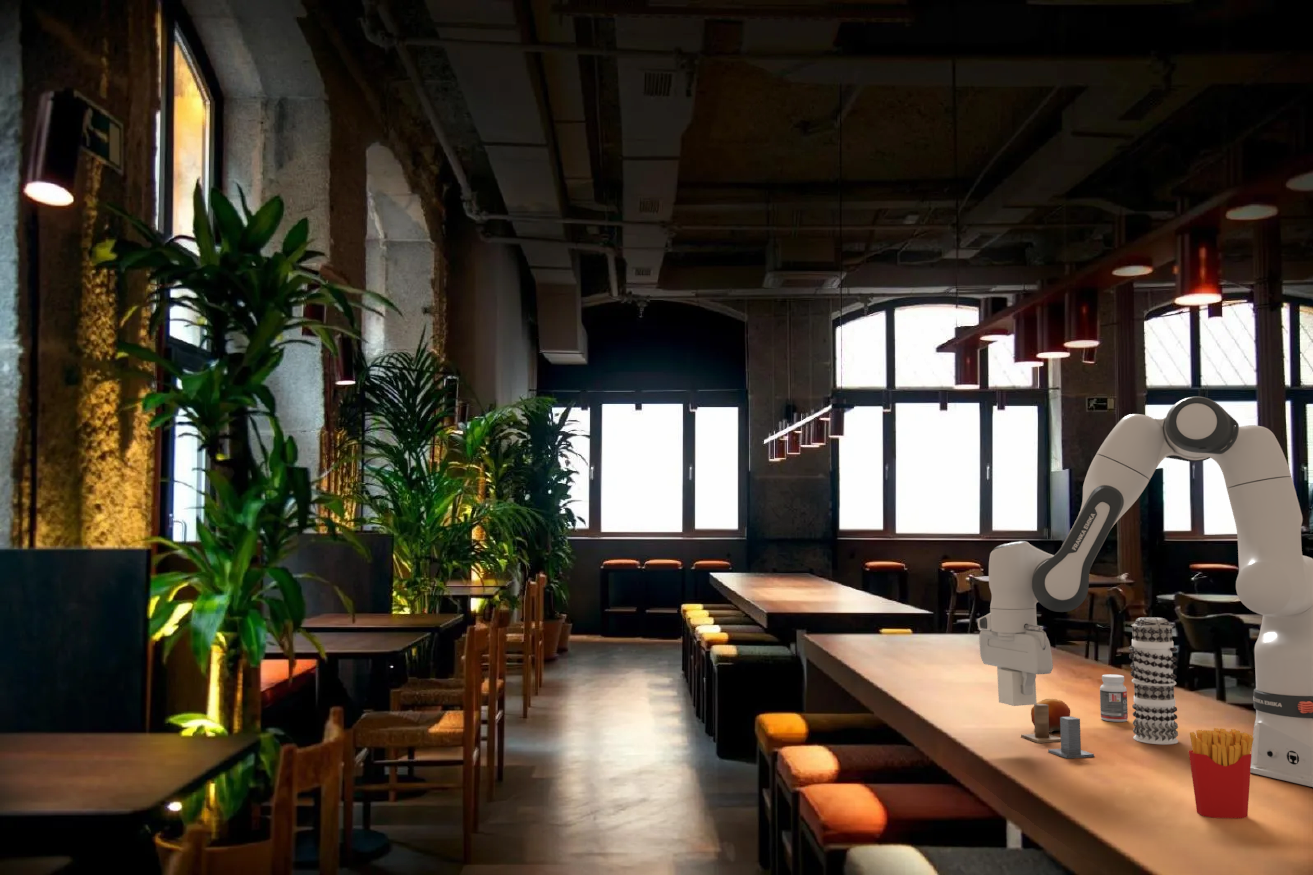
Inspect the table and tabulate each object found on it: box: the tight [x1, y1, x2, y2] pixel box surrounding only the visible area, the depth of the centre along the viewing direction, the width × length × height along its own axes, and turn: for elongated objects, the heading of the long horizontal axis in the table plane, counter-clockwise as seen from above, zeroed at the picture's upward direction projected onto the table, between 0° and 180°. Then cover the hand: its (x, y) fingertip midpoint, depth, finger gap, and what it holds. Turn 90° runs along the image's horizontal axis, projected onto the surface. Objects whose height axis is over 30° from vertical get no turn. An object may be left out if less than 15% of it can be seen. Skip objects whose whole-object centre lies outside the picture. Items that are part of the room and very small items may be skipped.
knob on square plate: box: [1020, 704, 1061, 744], centre depth 228 cm, size 6×6×7 cm
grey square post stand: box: [1047, 715, 1095, 760], centre depth 214 cm, size 6×6×7 cm
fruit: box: [1030, 698, 1071, 735], centre depth 237 cm, size 8×8×8 cm
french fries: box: [1188, 727, 1254, 819], centre depth 172 cm, size 9×4×13 cm, turn 85°
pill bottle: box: [1099, 673, 1129, 723], centre depth 249 cm, size 6×6×10 cm
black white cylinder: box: [1128, 616, 1179, 745], centre depth 228 cm, size 9×9×25 cm
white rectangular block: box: [996, 668, 1038, 707], centre depth 220 cm, size 5×5×7 cm
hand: (1017, 692), depth 220 cm, fingers closed on white rectangular block, 5 cm apart
